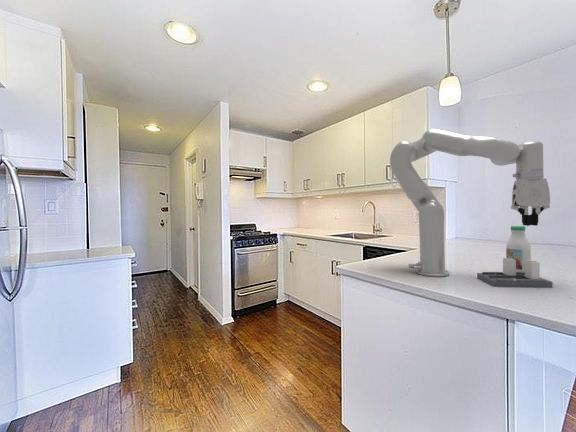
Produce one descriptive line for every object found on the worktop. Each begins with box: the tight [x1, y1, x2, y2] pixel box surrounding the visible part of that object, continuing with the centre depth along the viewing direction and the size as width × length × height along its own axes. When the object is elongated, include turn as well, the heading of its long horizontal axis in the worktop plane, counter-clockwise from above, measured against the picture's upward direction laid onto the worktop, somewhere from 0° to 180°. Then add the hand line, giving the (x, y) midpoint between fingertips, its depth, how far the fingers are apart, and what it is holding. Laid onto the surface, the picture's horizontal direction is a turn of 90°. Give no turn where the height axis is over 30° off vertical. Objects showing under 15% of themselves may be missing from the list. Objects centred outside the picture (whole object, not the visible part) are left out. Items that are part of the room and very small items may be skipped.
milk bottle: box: [505, 225, 532, 272], centre depth 110 cm, size 8×8×20 cm
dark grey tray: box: [476, 271, 553, 289], centre depth 100 cm, size 18×12×3 cm, turn 79°
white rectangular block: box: [502, 257, 516, 275], centre depth 102 cm, size 2×4×6 cm
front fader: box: [525, 260, 541, 279], centre depth 96 cm, size 2×4×6 cm
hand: (530, 225), depth 100 cm, fingers closed
